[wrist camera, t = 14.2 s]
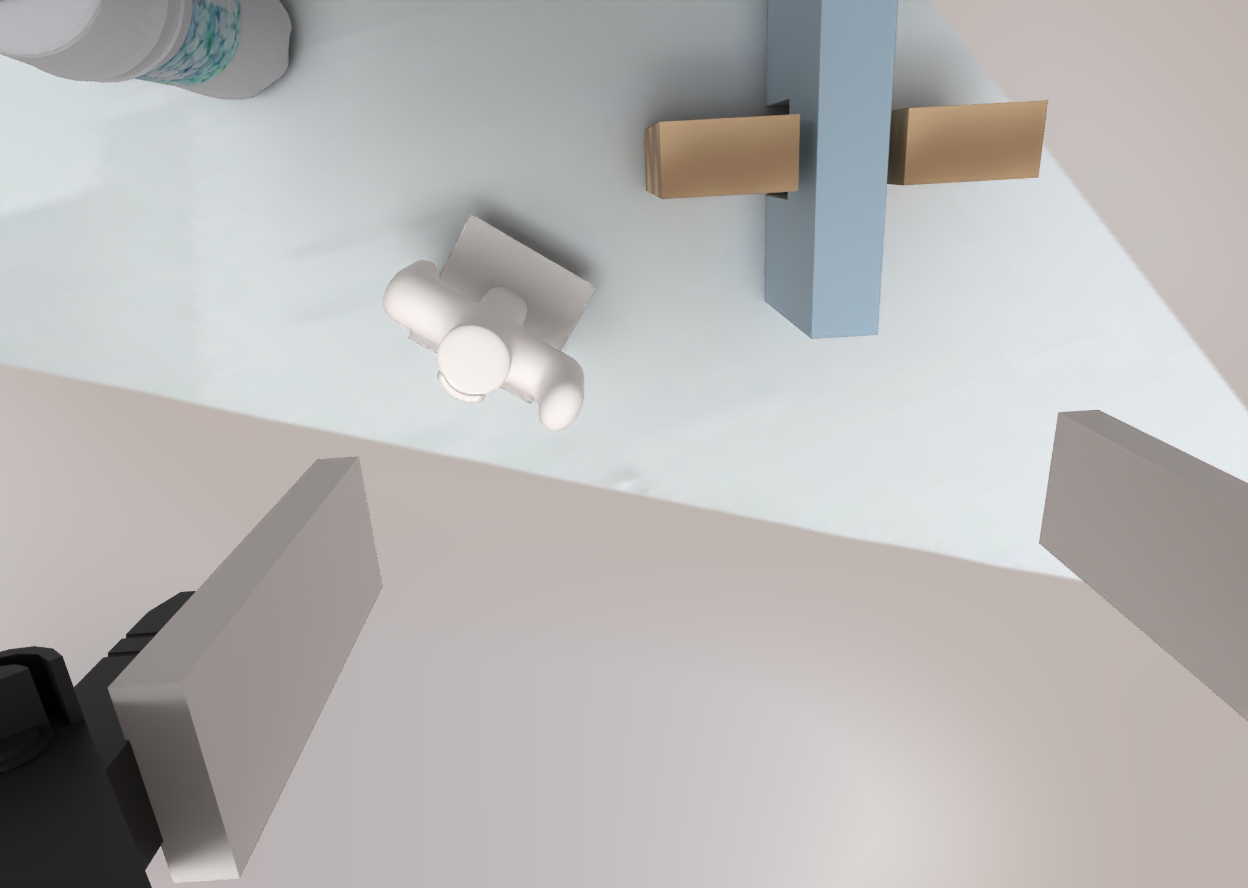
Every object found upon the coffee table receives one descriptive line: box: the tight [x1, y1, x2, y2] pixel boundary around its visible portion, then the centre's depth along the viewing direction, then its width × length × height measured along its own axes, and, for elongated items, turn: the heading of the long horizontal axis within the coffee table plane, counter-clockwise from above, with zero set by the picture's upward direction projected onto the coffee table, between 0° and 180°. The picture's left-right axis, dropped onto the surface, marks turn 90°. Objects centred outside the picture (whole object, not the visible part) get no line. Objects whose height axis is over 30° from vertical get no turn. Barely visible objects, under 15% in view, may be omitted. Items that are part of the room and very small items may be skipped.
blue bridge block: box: [765, 0, 898, 339], centre depth 37 cm, size 16×3×10 cm, turn 3°
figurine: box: [383, 214, 597, 431], centre depth 37 cm, size 7×9×15 cm
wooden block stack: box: [644, 100, 1048, 199], centre depth 37 cm, size 3×16×10 cm, turn 93°
